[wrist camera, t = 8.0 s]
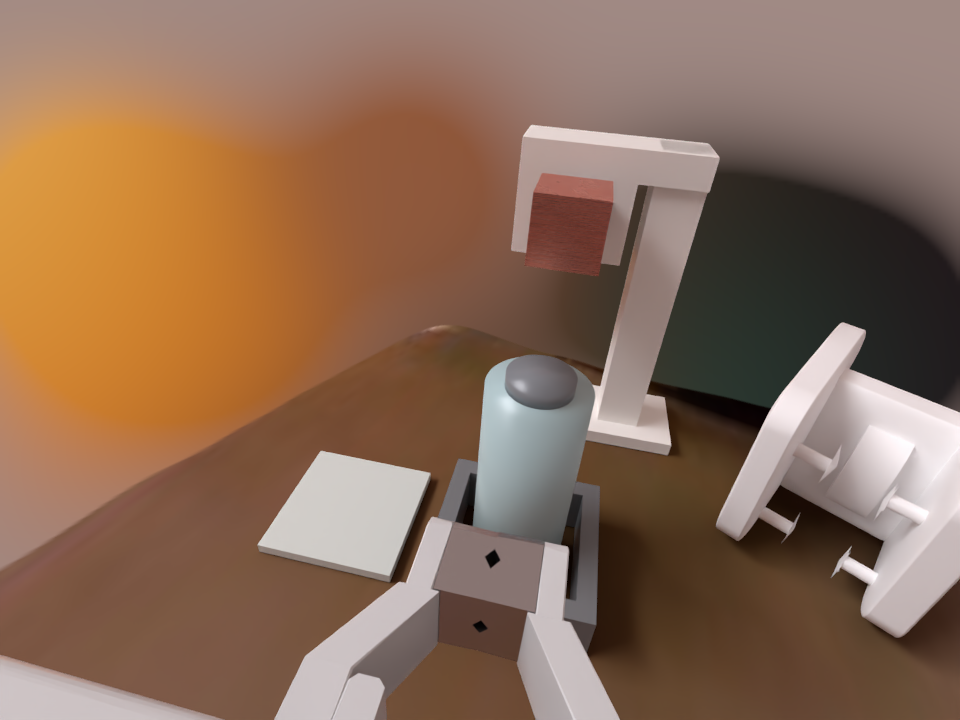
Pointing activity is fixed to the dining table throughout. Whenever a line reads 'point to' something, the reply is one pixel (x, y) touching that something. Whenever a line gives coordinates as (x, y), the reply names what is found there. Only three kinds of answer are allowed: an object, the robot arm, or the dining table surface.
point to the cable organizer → (862, 477)
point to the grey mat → (348, 516)
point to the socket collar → (584, 549)
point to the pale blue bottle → (531, 446)
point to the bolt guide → (654, 263)
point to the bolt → (569, 223)
